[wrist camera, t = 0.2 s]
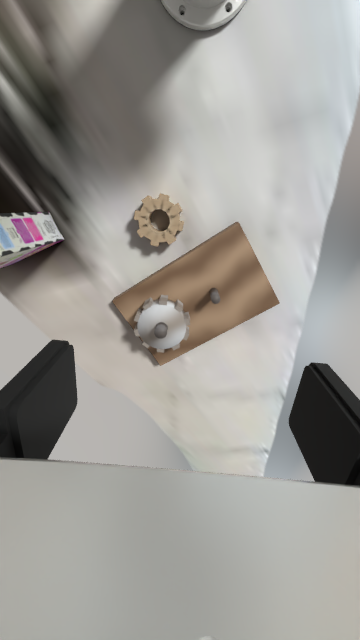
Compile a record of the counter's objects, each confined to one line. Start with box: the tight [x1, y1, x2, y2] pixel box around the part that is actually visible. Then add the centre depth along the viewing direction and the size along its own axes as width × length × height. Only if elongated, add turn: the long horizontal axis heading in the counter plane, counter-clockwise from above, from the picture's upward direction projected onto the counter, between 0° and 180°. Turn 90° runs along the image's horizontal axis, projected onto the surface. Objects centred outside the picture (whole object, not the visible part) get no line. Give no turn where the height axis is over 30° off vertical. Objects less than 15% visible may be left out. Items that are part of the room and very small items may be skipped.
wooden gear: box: [134, 194, 184, 247], centre depth 41 cm, size 7×7×3 cm
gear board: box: [112, 222, 279, 366], centre depth 45 cm, size 15×24×7 cm, turn 122°
